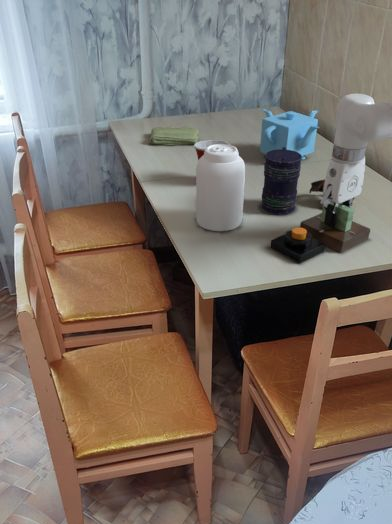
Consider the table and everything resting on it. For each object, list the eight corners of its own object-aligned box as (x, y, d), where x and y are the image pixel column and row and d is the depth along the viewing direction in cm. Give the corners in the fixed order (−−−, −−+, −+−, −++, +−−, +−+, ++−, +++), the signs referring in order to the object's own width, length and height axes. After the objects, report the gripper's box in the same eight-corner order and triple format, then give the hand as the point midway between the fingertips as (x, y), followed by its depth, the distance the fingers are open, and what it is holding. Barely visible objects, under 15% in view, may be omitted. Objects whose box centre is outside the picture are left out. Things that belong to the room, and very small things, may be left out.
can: (194, 231, 144) (195, 156, 131) (197, 211, 153) (197, 139, 141) (242, 233, 143) (246, 158, 130) (241, 212, 153) (246, 140, 140)
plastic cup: (220, 173, 175) (221, 135, 167) (233, 186, 167) (235, 147, 159) (188, 178, 172) (188, 139, 164) (200, 191, 164) (201, 151, 156)
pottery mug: (311, 211, 154) (307, 182, 153) (312, 212, 163) (308, 184, 162) (355, 203, 151) (351, 173, 150) (353, 204, 160) (349, 176, 159)
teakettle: (259, 166, 180) (263, 120, 170) (259, 146, 194) (262, 102, 184) (316, 168, 178) (323, 122, 169) (312, 148, 193) (319, 104, 183)
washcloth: (198, 146, 194) (198, 136, 192) (149, 145, 194) (149, 136, 192) (198, 133, 204) (198, 125, 202) (151, 133, 204) (151, 124, 202)
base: (369, 238, 141) (372, 227, 139) (339, 253, 135) (341, 242, 133) (327, 219, 149) (329, 209, 147) (297, 233, 143) (299, 222, 141)
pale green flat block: (350, 229, 138) (354, 208, 135) (344, 232, 137) (349, 211, 134) (326, 218, 143) (329, 198, 140) (320, 220, 142) (323, 200, 138)
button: (308, 237, 134) (309, 231, 133) (299, 242, 132) (300, 235, 131) (298, 232, 136) (298, 225, 135) (288, 236, 134) (289, 230, 133)
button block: (323, 251, 136) (326, 237, 133) (299, 263, 131) (301, 249, 129) (294, 237, 142) (296, 223, 139) (270, 247, 137) (271, 233, 135)
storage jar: (262, 199, 160) (267, 136, 148) (295, 201, 158) (303, 138, 147) (259, 214, 152) (265, 149, 141) (294, 216, 151) (303, 151, 139)
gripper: (338, 164, 122) (325, 238, 134) (383, 148, 130) (367, 218, 142) (312, 155, 126) (302, 227, 138) (358, 140, 135) (344, 208, 146)
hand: (335, 222), depth 140 cm, fingers open, 4 cm apart
